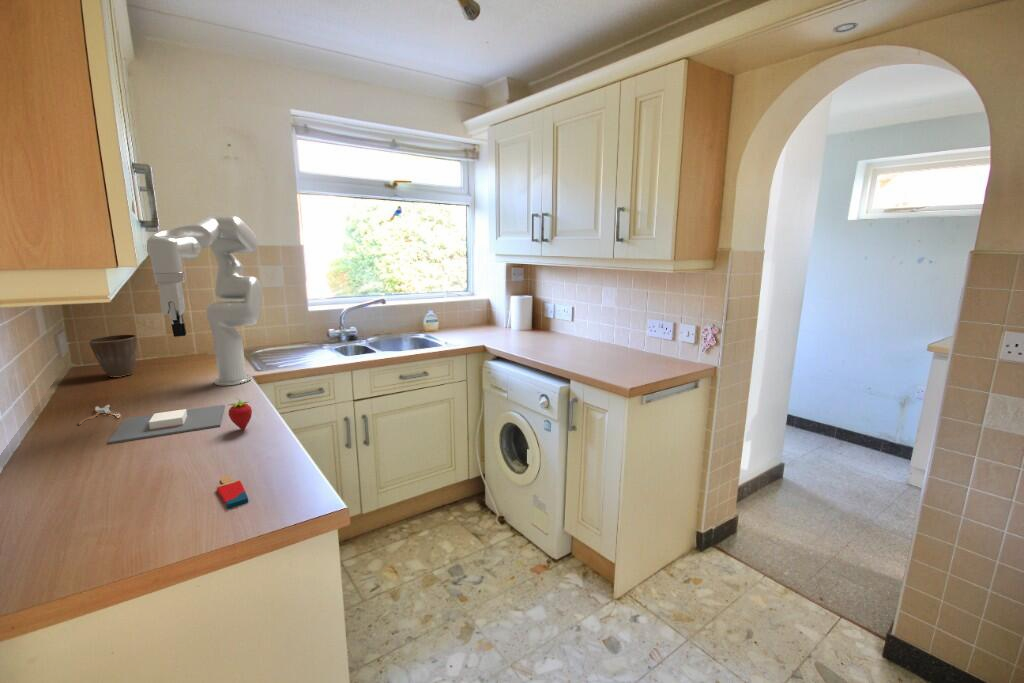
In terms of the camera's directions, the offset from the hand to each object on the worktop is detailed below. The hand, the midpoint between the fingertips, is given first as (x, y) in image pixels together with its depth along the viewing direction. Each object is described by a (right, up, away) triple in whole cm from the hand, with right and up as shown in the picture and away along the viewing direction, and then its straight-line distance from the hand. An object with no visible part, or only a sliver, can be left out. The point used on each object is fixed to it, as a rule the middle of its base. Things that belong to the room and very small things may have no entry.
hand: (180, 335), depth 148 cm
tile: (+1, -24, -6) cm, 25 cm away
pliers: (-24, -26, -1) cm, 36 cm away
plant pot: (-56, -16, +44) cm, 73 cm away
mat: (+3, -27, -8) cm, 28 cm away
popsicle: (+45, -35, -46) cm, 73 cm away
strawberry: (+27, -28, -13) cm, 41 cm away
